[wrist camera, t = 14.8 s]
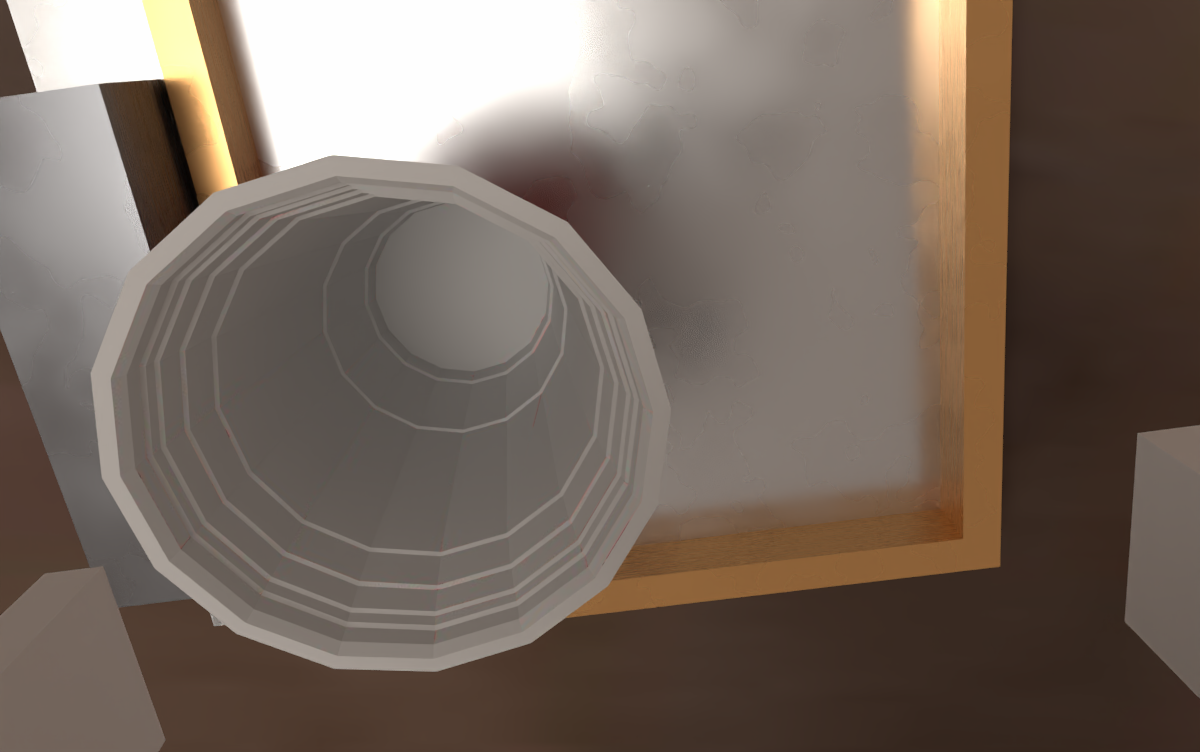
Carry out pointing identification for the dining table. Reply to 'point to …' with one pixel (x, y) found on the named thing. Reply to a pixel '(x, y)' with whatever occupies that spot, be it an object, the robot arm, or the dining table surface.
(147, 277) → the plastic cup
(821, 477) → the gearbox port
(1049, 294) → the dining table surface
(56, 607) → the robot arm
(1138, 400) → the dining table surface
